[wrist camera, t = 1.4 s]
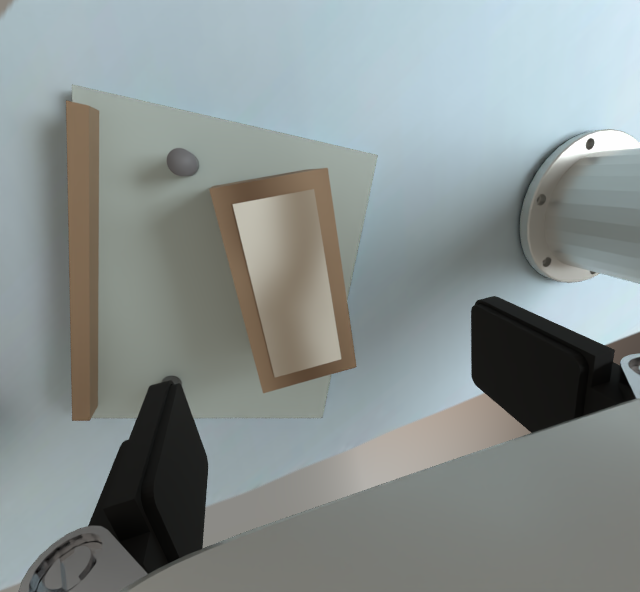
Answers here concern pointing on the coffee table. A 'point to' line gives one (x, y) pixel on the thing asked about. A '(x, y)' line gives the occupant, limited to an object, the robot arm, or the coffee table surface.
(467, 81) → the coffee table surface
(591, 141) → the robot arm
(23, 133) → the coffee table surface
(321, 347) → the wooden box
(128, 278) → the wall board
